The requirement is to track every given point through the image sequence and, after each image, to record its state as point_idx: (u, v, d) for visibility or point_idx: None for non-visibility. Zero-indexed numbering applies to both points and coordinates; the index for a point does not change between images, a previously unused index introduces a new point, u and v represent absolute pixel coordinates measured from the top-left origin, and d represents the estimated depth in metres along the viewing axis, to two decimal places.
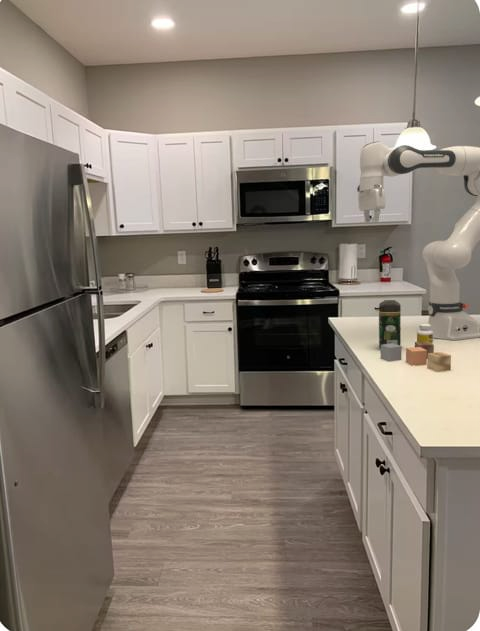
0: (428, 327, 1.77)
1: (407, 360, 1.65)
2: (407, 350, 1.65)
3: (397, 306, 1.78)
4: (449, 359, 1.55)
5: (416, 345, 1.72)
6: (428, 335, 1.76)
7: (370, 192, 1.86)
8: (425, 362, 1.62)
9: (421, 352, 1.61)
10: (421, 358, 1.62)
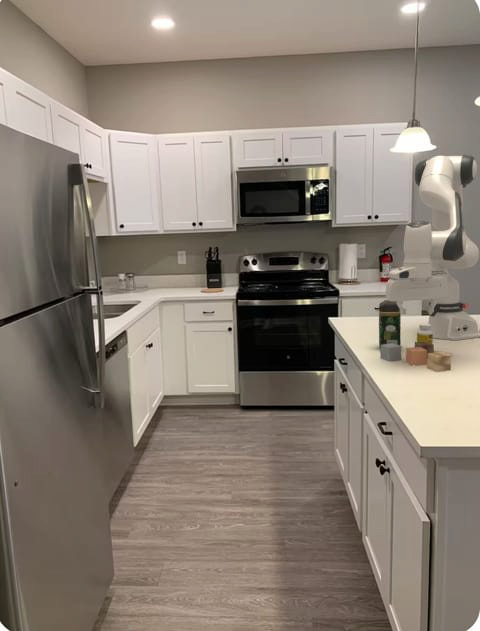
0: (428, 327, 1.77)
1: (407, 360, 1.65)
2: (407, 350, 1.65)
3: (397, 306, 1.78)
4: (449, 359, 1.55)
5: (416, 345, 1.72)
6: (428, 335, 1.76)
7: (430, 280, 1.58)
8: (425, 362, 1.62)
9: (421, 352, 1.61)
10: (421, 358, 1.62)
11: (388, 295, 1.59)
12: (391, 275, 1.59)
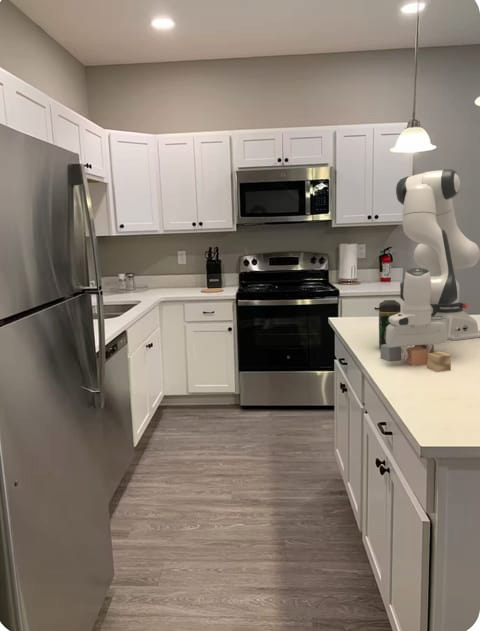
0: None
1: (407, 360, 1.65)
2: (407, 350, 1.65)
3: (397, 306, 1.78)
4: (449, 359, 1.55)
5: (416, 345, 1.72)
6: None
7: (430, 325, 1.61)
8: (425, 362, 1.62)
9: (421, 352, 1.61)
10: (421, 358, 1.62)
11: (388, 341, 1.62)
12: (391, 321, 1.61)
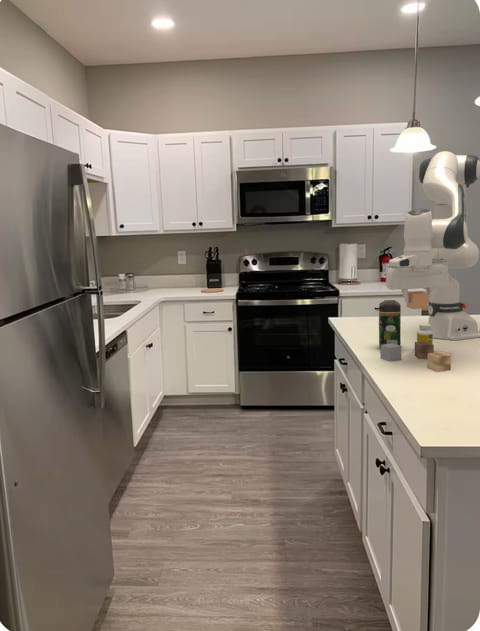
0: (428, 327, 1.77)
1: (408, 304, 1.62)
2: (408, 294, 1.62)
3: (397, 306, 1.78)
4: (449, 359, 1.55)
5: (416, 345, 1.72)
6: (428, 335, 1.76)
7: (431, 268, 1.58)
8: (426, 305, 1.59)
9: (422, 295, 1.58)
10: (422, 301, 1.58)
11: (388, 283, 1.58)
12: (391, 263, 1.58)
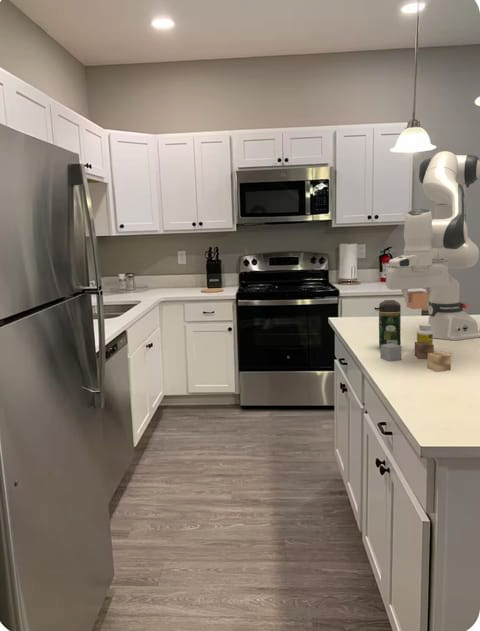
0: (428, 327, 1.77)
1: (408, 304, 1.62)
2: (408, 294, 1.62)
3: (397, 306, 1.78)
4: (449, 359, 1.55)
5: (416, 345, 1.72)
6: (428, 335, 1.76)
7: (431, 268, 1.58)
8: (426, 305, 1.59)
9: (422, 295, 1.58)
10: (422, 301, 1.58)
11: (388, 283, 1.58)
12: (391, 263, 1.58)
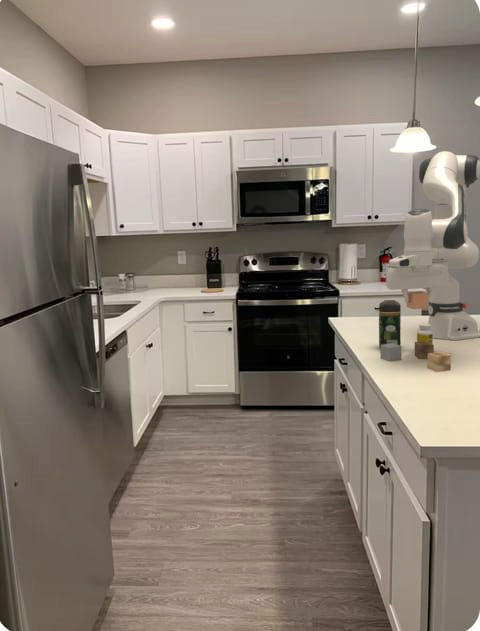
0: (428, 327, 1.77)
1: (408, 304, 1.62)
2: (408, 294, 1.62)
3: (397, 306, 1.78)
4: (449, 359, 1.55)
5: (416, 345, 1.72)
6: (428, 335, 1.76)
7: (431, 268, 1.58)
8: (426, 305, 1.59)
9: (422, 295, 1.58)
10: (422, 301, 1.58)
11: (388, 283, 1.58)
12: (391, 263, 1.58)
